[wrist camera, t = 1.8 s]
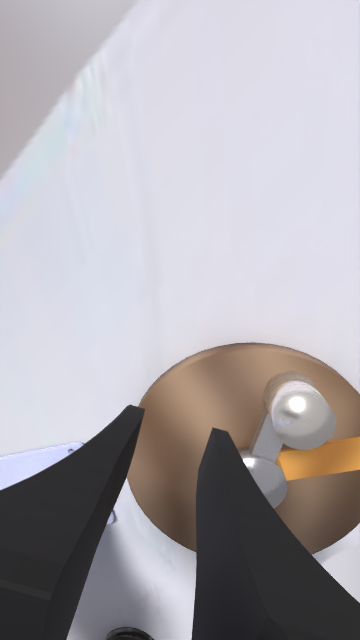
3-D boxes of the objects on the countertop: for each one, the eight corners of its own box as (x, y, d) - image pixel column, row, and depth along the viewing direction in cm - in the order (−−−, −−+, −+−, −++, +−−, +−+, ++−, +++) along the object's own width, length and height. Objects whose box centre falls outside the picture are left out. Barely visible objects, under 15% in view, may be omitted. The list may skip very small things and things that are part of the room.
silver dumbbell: (270, 505, 21) (284, 563, 17) (211, 489, 21) (212, 543, 18) (328, 375, 18) (360, 411, 14) (258, 356, 18) (272, 387, 14)
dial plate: (166, 556, 26) (164, 578, 24) (97, 374, 22) (88, 385, 20) (386, 530, 23) (399, 552, 22) (357, 314, 19) (371, 321, 17)
